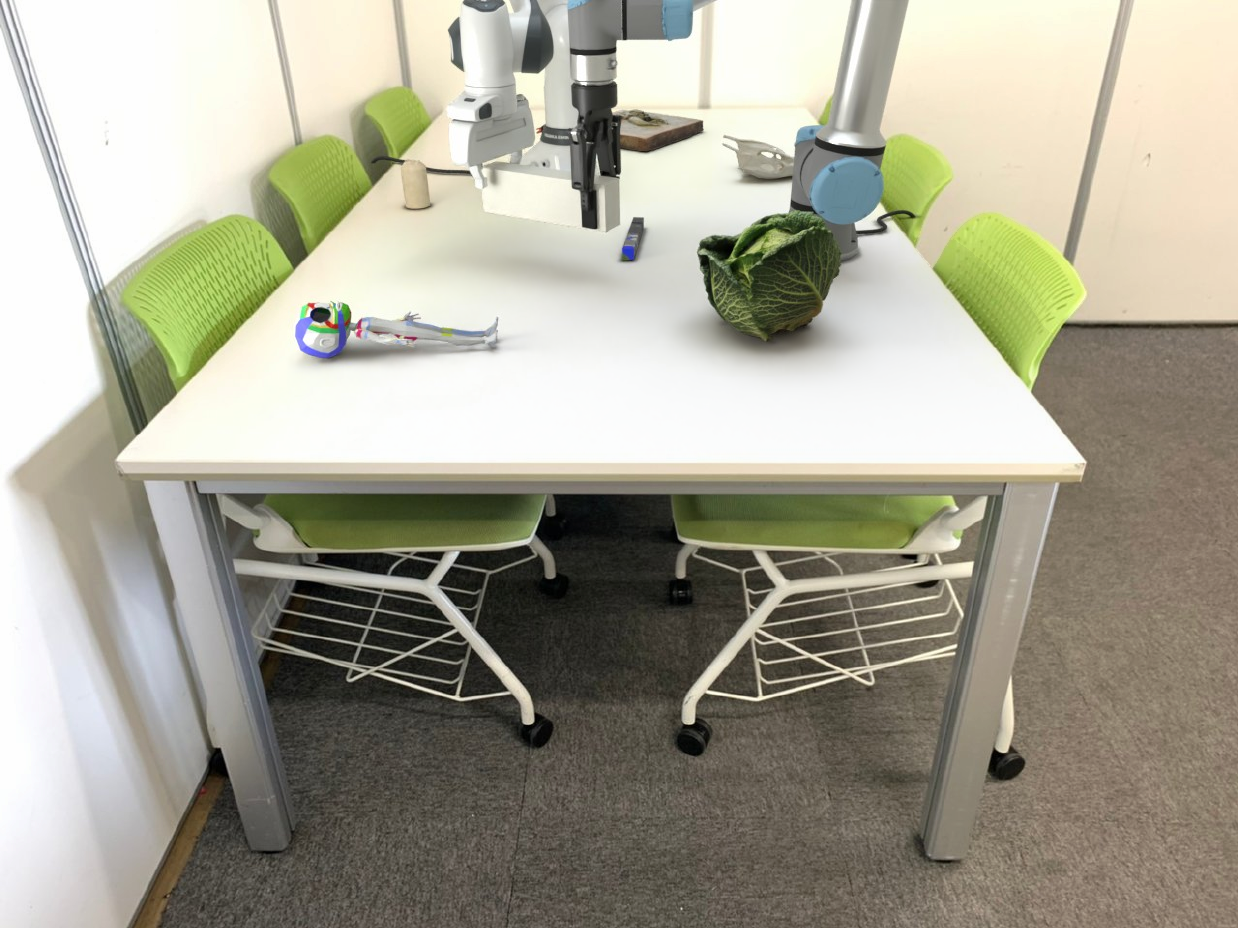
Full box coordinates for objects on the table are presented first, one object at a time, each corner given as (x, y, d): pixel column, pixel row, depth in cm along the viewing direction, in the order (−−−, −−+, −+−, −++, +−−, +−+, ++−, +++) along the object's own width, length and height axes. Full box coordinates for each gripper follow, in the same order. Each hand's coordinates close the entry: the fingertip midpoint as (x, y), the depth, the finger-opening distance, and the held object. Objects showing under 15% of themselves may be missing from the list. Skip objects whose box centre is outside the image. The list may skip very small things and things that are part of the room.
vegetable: (729, 354, 150) (671, 251, 142) (822, 290, 151) (770, 184, 144) (780, 378, 132) (718, 261, 124) (885, 305, 133) (830, 185, 125)
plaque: (647, 125, 237) (559, 112, 252) (647, 153, 241) (560, 139, 256) (706, 107, 258) (622, 97, 273) (705, 133, 262) (622, 121, 277)
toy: (498, 328, 132) (286, 311, 128) (494, 379, 137) (289, 364, 132) (499, 302, 141) (300, 285, 136) (495, 351, 145) (303, 336, 140)
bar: (483, 212, 166) (479, 167, 162) (499, 205, 170) (495, 161, 165) (605, 232, 155) (604, 185, 150) (620, 224, 158) (619, 178, 154)
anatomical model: (724, 131, 223) (826, 130, 219) (723, 169, 228) (823, 168, 224) (720, 146, 210) (828, 145, 207) (720, 185, 215) (825, 185, 212)
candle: (435, 203, 204) (429, 158, 199) (422, 209, 200) (416, 164, 194) (413, 201, 206) (407, 156, 200) (401, 207, 201) (394, 162, 196)
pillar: (643, 217, 185) (633, 249, 169) (643, 227, 186) (633, 260, 170) (633, 217, 186) (621, 249, 169) (633, 227, 187) (622, 260, 170)
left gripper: (513, 90, 165) (518, 167, 173) (439, 109, 151) (448, 192, 158) (540, 93, 163) (544, 171, 170) (468, 113, 148) (476, 197, 155)
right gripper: (583, 92, 137) (589, 241, 149) (641, 74, 150) (641, 212, 162) (543, 88, 140) (551, 234, 153) (603, 71, 153) (606, 207, 166)
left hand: (497, 181), depth 164 cm, fingers open, 8 cm apart
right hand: (598, 223), depth 157 cm, fingers closed on bar, 5 cm apart
